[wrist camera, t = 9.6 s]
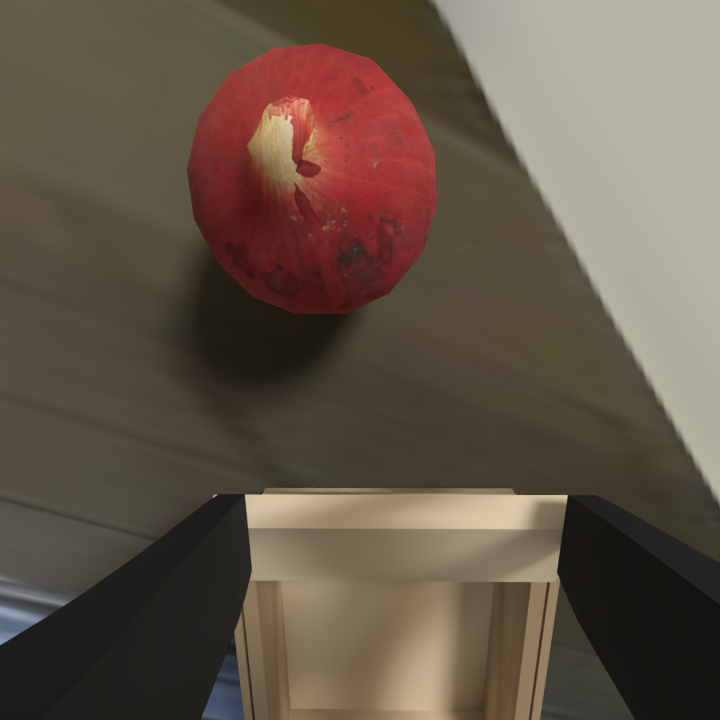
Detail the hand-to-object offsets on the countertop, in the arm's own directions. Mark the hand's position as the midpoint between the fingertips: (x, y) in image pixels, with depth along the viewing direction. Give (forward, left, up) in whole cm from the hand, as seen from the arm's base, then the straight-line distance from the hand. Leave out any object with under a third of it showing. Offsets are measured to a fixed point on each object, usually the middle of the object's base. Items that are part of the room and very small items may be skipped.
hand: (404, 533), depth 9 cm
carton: (0, -9, -6) cm, 11 cm away
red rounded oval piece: (-2, +7, -7) cm, 10 cm away
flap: (0, -1, -1) cm, 2 cm away
